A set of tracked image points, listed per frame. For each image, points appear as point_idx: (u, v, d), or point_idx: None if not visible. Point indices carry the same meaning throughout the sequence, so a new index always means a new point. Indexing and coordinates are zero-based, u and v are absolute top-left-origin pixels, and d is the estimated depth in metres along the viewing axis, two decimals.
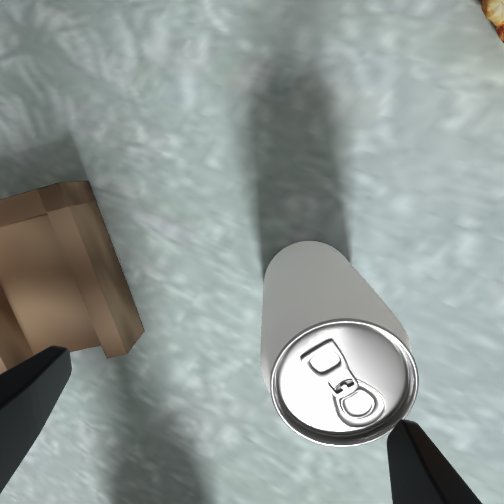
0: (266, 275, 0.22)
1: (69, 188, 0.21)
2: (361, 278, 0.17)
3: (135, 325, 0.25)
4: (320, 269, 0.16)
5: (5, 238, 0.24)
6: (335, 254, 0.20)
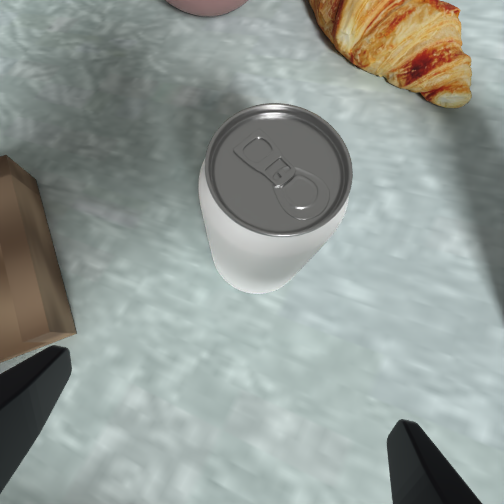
0: None
1: (15, 166, 0.22)
2: None
3: (65, 319, 0.21)
4: None
5: None
6: None
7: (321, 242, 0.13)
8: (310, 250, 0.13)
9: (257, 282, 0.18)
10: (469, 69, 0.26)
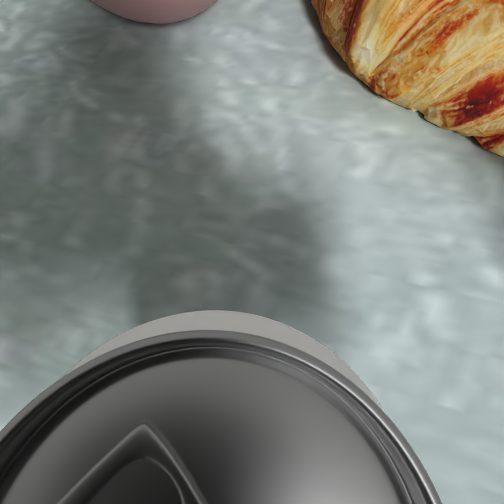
0: None
1: None
2: None
3: None
4: None
5: None
6: None
7: None
8: None
9: None
10: None
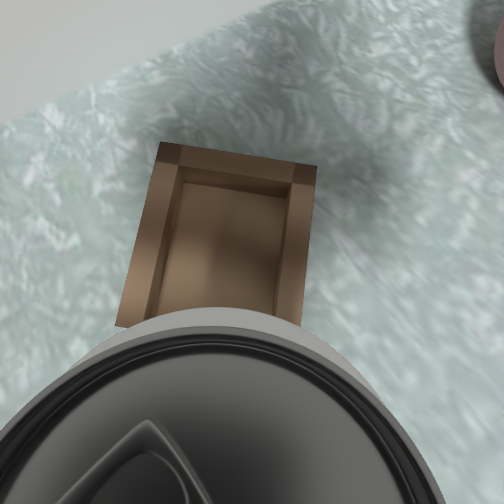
0: None
1: None
2: None
3: None
4: None
5: (208, 197, 0.23)
6: None
7: None
8: None
9: None
10: None
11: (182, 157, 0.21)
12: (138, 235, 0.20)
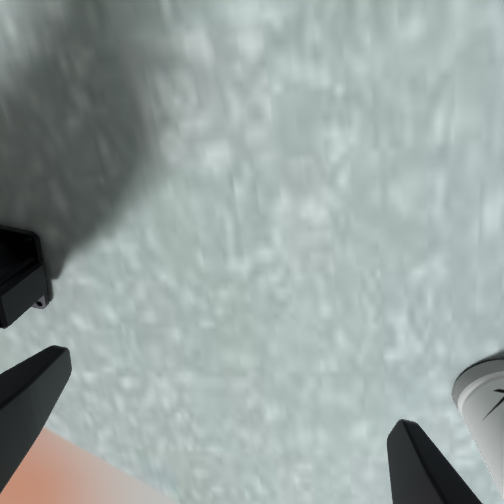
0: None
1: None
2: None
3: None
4: None
5: None
6: None
7: None
8: None
9: None
10: None
11: None
12: None
